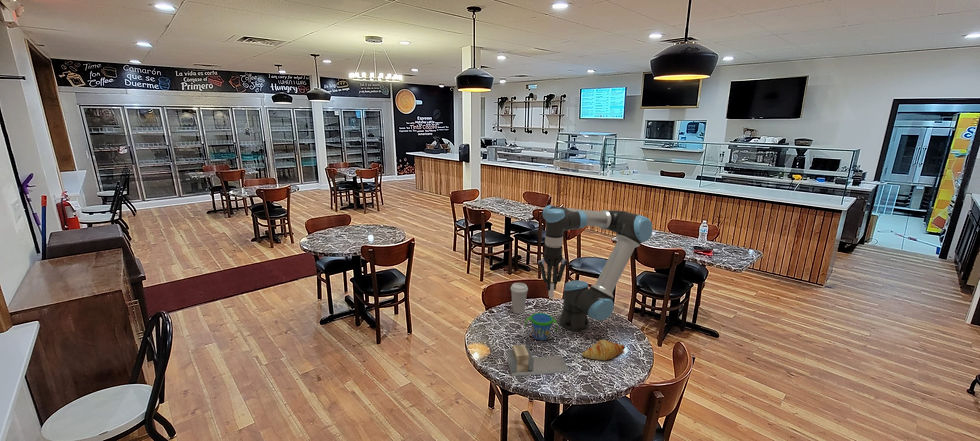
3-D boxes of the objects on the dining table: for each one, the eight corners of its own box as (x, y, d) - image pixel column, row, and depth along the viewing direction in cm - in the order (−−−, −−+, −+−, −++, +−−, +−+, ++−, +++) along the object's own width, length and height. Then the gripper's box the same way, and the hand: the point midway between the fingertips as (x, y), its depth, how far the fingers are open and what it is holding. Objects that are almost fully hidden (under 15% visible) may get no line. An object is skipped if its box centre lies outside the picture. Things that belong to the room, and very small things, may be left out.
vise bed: (561, 358, 178) (561, 355, 178) (568, 372, 169) (568, 368, 169) (507, 362, 175) (507, 359, 175) (511, 376, 165) (511, 373, 165)
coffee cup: (530, 311, 223) (531, 285, 219) (519, 316, 216) (520, 290, 212) (517, 305, 229) (518, 280, 225) (506, 311, 222) (506, 285, 219)
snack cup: (557, 333, 200) (559, 314, 197) (556, 344, 190) (557, 324, 187) (526, 329, 203) (527, 310, 200) (523, 340, 193) (523, 320, 190)
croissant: (585, 368, 177) (590, 359, 172) (575, 348, 184) (580, 338, 179) (626, 360, 184) (633, 350, 178) (615, 340, 191) (621, 331, 185)
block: (523, 359, 175) (524, 344, 173) (528, 370, 167) (528, 355, 165) (512, 360, 174) (512, 345, 172) (516, 371, 166) (516, 356, 165)
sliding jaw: (531, 354, 178) (531, 344, 177) (537, 369, 167) (538, 358, 166) (518, 355, 177) (518, 345, 176) (523, 370, 166) (524, 359, 165)
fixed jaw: (512, 359, 175) (512, 349, 173) (516, 371, 166) (516, 361, 165) (507, 359, 174) (507, 349, 173) (511, 372, 166) (512, 361, 164)
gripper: (565, 242, 177) (562, 292, 183) (536, 243, 175) (534, 293, 181) (571, 247, 170) (567, 299, 176) (541, 248, 168) (538, 301, 174)
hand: (550, 296), depth 178 cm, fingers closed
